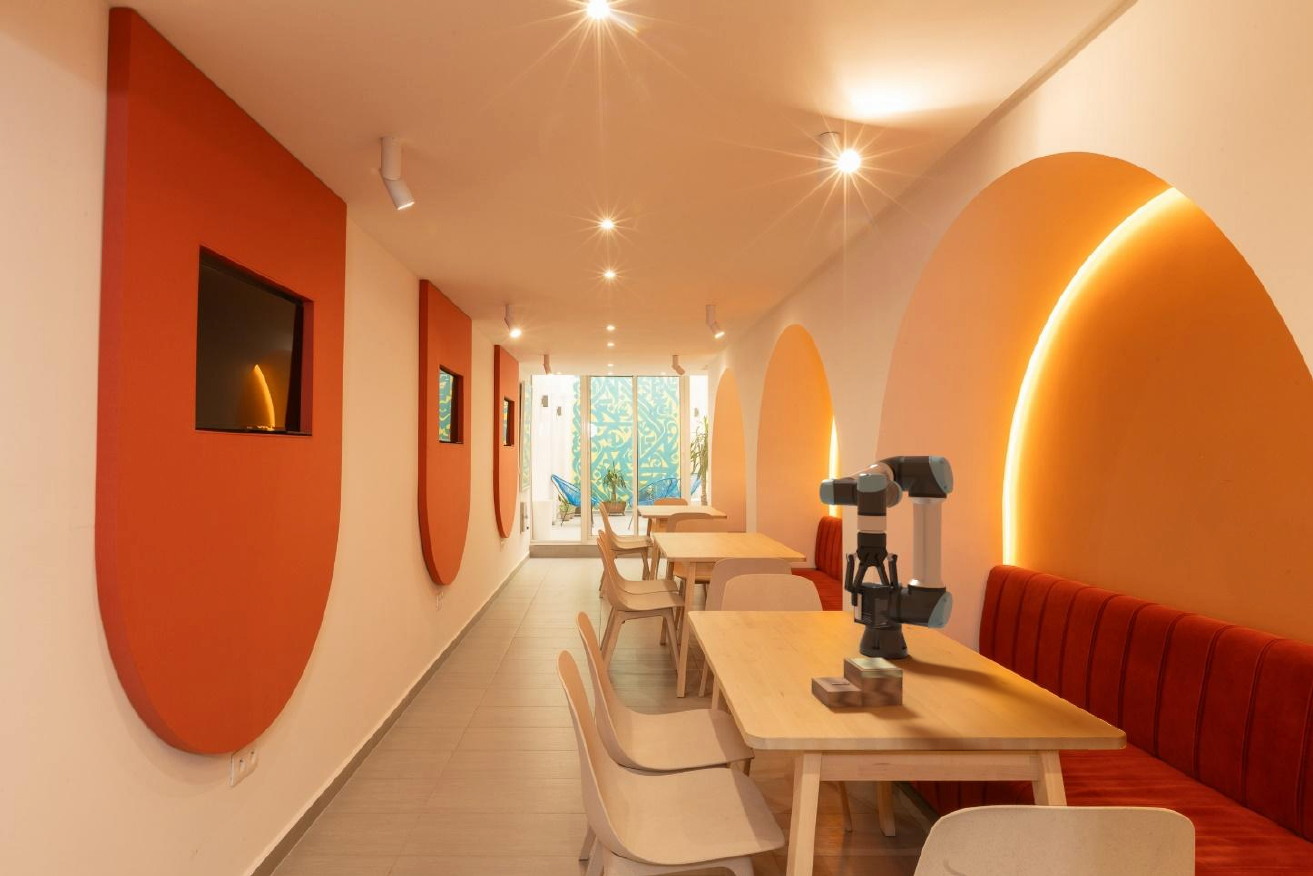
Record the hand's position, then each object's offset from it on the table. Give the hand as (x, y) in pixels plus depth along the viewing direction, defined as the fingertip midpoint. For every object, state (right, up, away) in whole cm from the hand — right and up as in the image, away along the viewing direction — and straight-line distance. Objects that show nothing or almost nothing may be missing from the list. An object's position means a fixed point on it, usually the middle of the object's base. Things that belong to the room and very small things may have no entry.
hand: (871, 618), depth 194 cm
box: (0, -2, 0) cm, 2 cm away
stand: (-5, -21, -1) cm, 21 cm away
